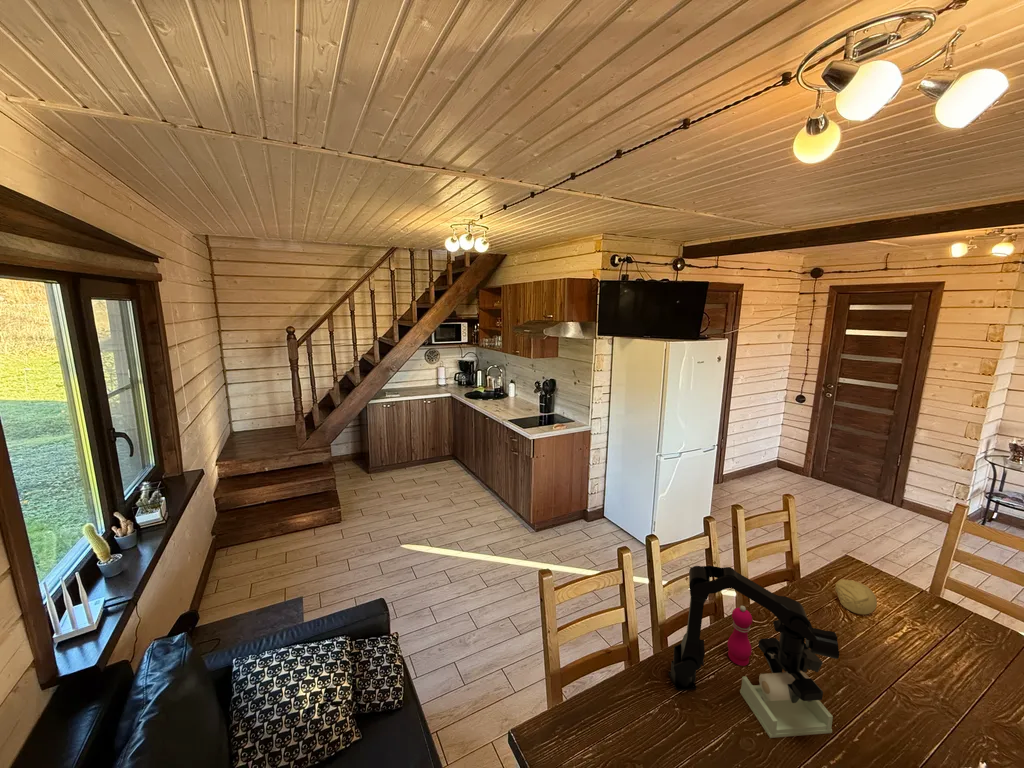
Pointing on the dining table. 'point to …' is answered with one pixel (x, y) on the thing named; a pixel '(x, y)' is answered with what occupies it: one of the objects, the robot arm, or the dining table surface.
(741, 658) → the pepper mill
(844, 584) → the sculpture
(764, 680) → the kitchen roll
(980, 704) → the dining table surface
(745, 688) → the roll cradle
